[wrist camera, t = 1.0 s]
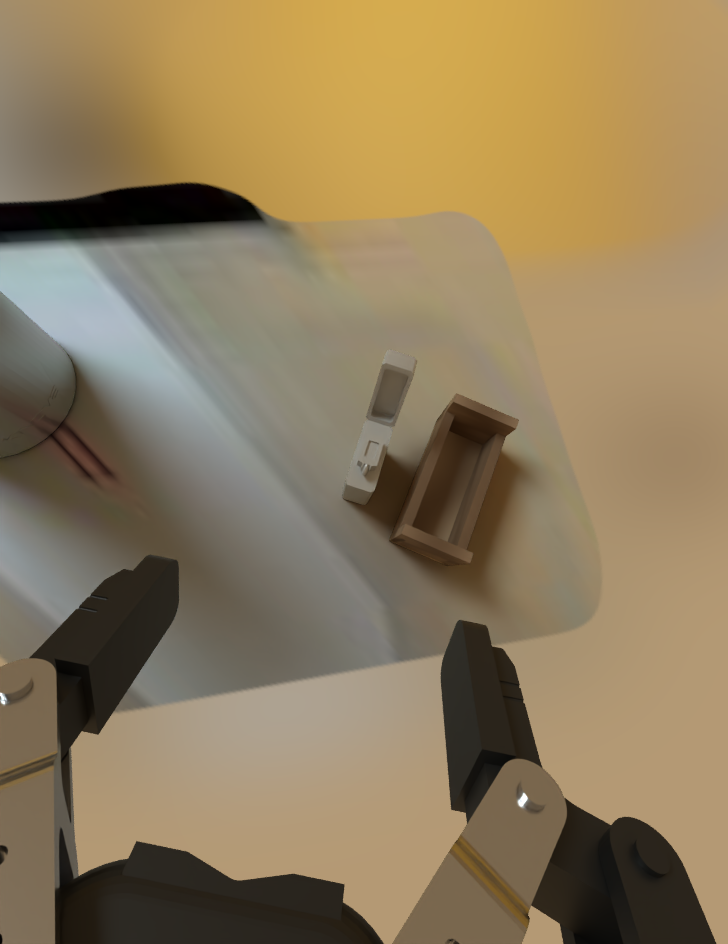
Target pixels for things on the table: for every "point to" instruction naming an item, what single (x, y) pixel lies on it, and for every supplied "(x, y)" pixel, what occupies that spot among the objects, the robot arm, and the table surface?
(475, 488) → the open wooden box
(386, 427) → the lighter
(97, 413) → the table surface
